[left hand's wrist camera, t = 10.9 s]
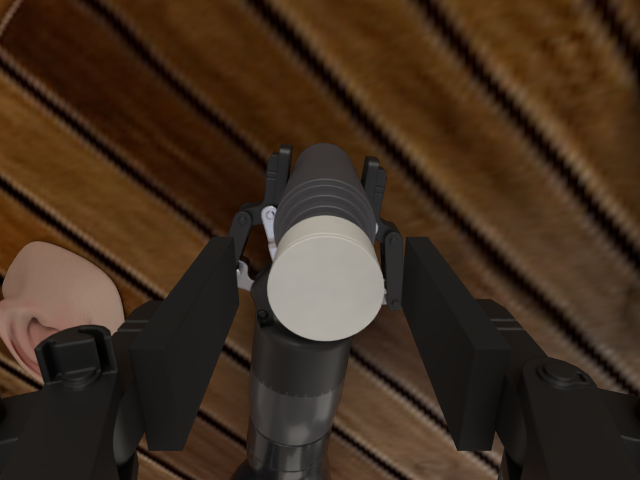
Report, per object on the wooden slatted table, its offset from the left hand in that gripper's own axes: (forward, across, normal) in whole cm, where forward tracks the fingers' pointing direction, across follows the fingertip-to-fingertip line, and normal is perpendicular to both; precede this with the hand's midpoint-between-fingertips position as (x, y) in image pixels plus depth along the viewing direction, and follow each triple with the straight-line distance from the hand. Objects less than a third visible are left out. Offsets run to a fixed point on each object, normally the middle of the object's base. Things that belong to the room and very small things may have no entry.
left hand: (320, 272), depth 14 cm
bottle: (+20, 0, 0) cm, 20 cm away
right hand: (+13, -1, -3) cm, 13 cm away
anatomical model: (+20, +24, +13) cm, 34 cm away
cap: (-1, 0, 0) cm, 1 cm away
